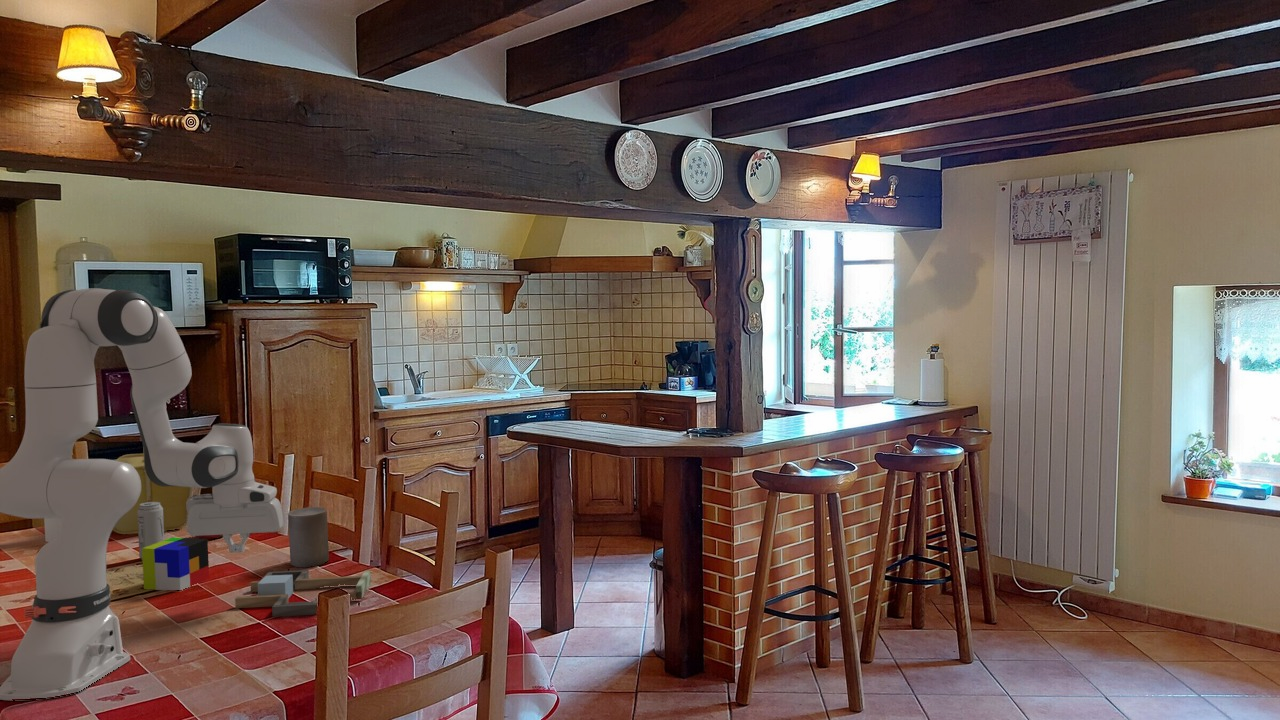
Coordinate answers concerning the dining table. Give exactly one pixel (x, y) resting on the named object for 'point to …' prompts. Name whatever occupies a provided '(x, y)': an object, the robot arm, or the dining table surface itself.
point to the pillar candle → (308, 536)
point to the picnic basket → (155, 500)
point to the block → (276, 585)
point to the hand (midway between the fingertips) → (237, 552)
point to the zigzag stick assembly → (299, 582)
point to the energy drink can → (150, 524)
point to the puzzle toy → (175, 563)
